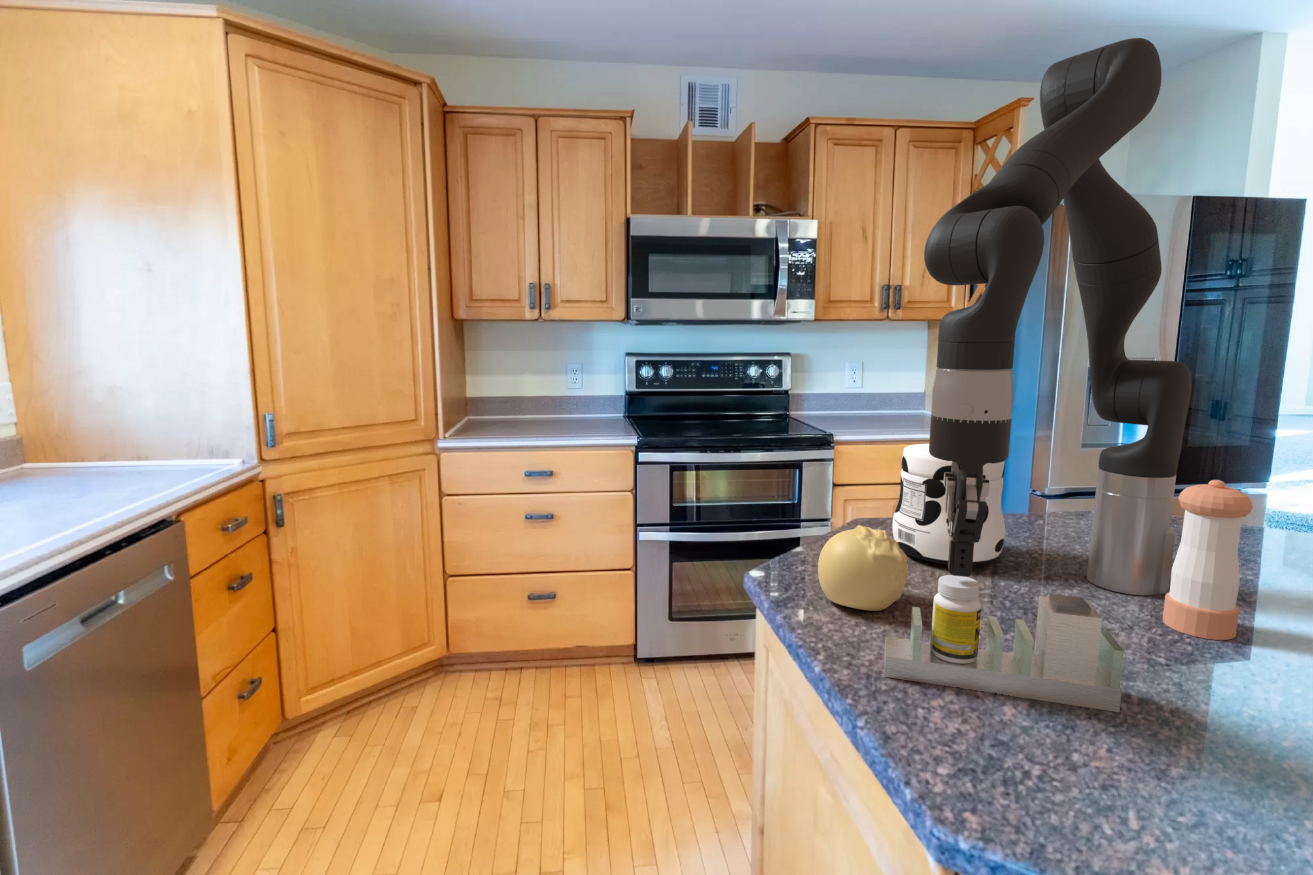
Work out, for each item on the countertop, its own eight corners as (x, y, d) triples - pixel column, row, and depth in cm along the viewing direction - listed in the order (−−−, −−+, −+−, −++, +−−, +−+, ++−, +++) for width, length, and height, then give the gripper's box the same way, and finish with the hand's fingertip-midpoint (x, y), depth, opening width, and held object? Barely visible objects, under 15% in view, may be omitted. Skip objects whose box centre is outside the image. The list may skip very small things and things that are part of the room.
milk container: (1007, 550, 114) (1016, 448, 112) (996, 581, 100) (1006, 465, 97) (903, 534, 124) (908, 439, 121) (879, 561, 109) (885, 453, 106)
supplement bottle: (982, 667, 70) (988, 591, 68) (935, 663, 70) (940, 587, 69) (970, 646, 74) (976, 574, 73) (926, 642, 75) (930, 571, 74)
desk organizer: (1103, 687, 70) (1113, 597, 69) (1119, 712, 65) (1130, 616, 64) (884, 655, 77) (888, 573, 76) (884, 676, 72) (889, 589, 71)
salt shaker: (1218, 645, 80) (1239, 489, 77) (1150, 622, 86) (1167, 477, 83) (1247, 632, 83) (1268, 483, 80) (1180, 611, 89) (1197, 472, 86)
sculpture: (914, 622, 86) (919, 542, 84) (819, 616, 88) (822, 538, 86) (898, 589, 97) (902, 518, 95) (814, 584, 99) (817, 514, 97)
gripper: (1024, 422, 61) (1010, 601, 63) (1000, 407, 73) (988, 557, 76) (936, 419, 63) (925, 592, 66) (927, 405, 75) (918, 551, 78)
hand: (959, 573), depth 71 cm, fingers closed
